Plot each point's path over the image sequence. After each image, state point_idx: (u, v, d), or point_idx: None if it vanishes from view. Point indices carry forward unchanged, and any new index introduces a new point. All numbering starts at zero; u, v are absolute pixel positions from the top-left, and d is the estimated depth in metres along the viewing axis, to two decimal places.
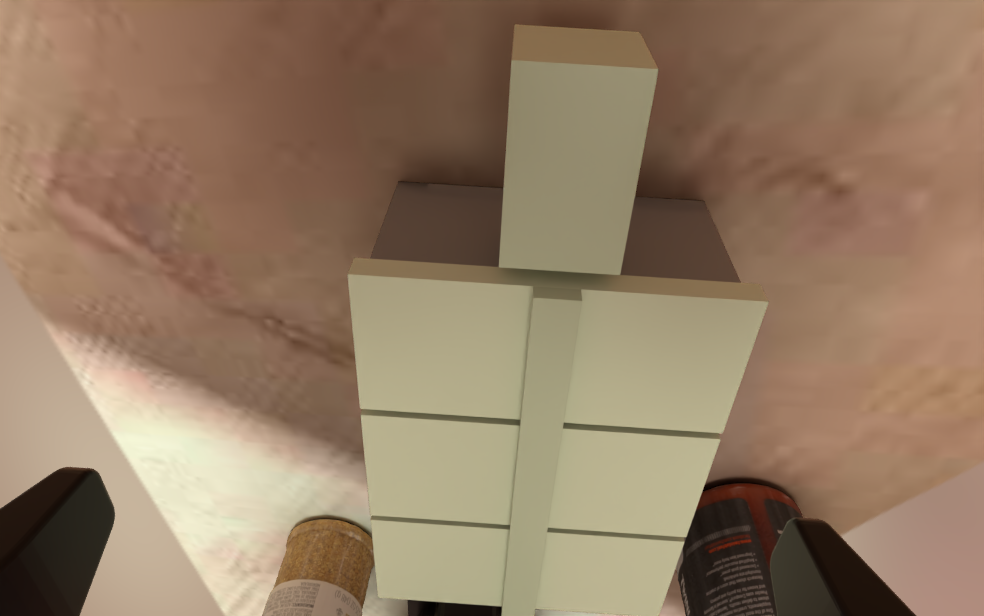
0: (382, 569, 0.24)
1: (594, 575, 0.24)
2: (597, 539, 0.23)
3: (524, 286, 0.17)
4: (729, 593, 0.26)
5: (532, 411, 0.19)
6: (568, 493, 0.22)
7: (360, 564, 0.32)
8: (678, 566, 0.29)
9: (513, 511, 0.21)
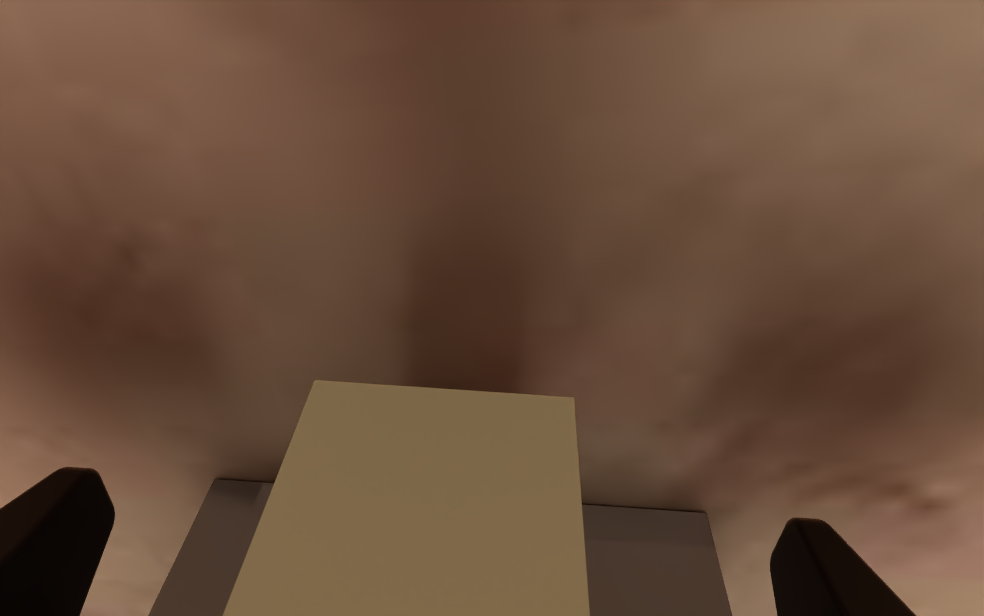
0: None
1: None
2: None
3: None
4: None
5: None
6: None
7: None
8: None
9: None
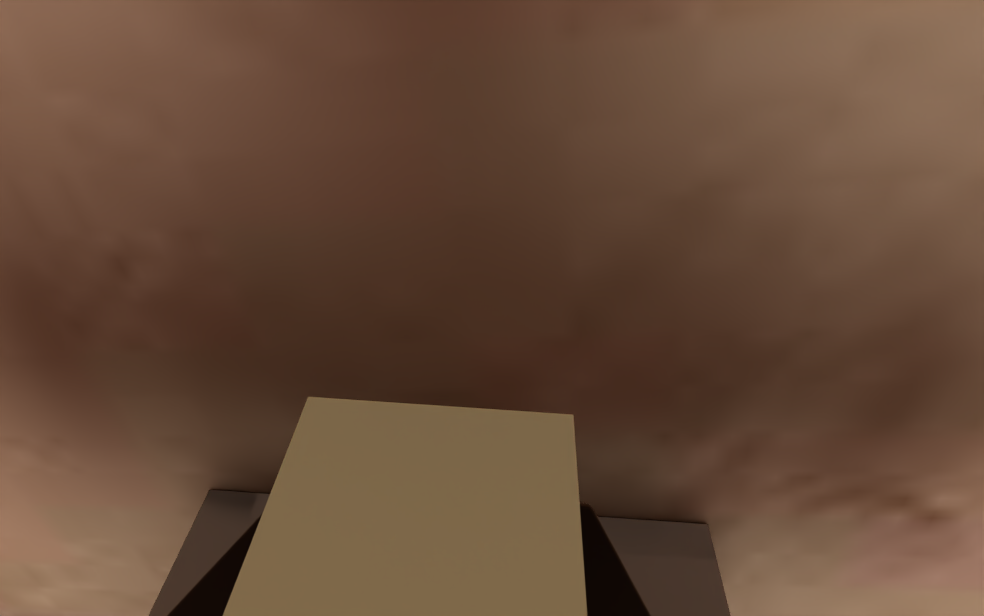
0: None
1: None
2: None
3: None
4: None
5: None
6: None
7: None
8: None
9: None
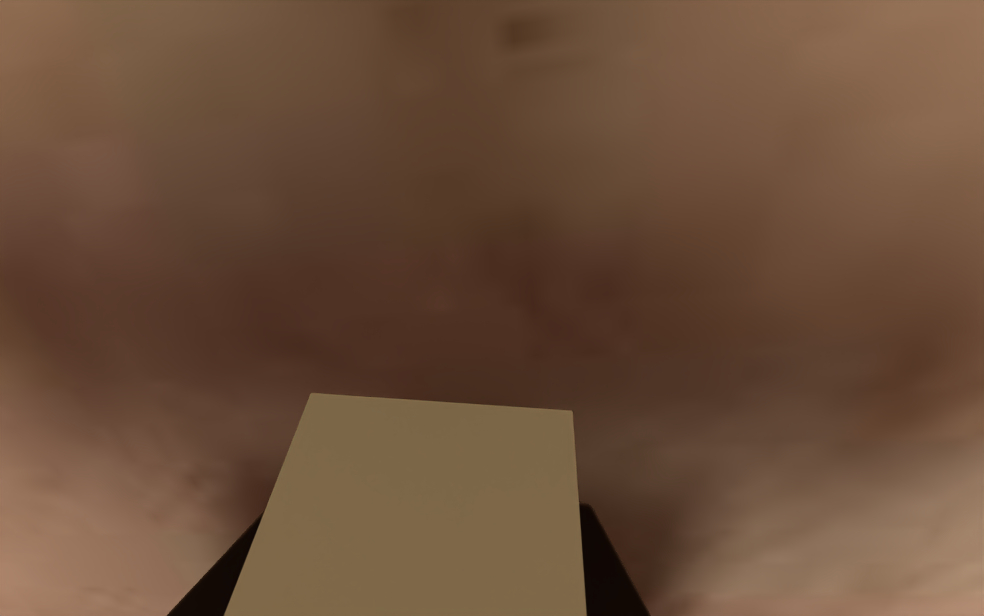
0: None
1: None
2: None
3: None
4: None
5: None
6: None
7: None
8: None
9: None
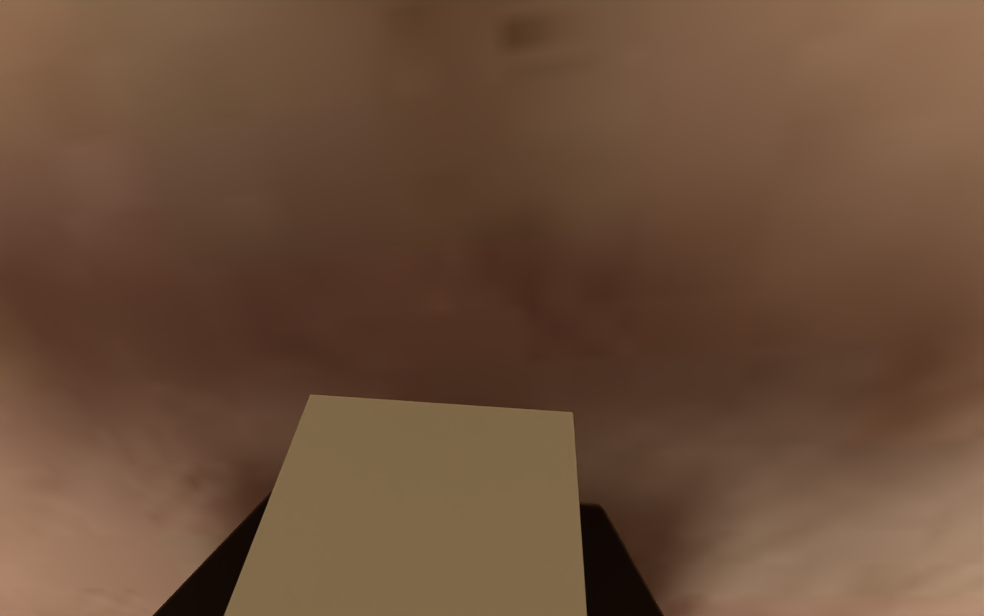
0: None
1: None
2: None
3: None
4: None
5: None
6: None
7: None
8: None
9: None
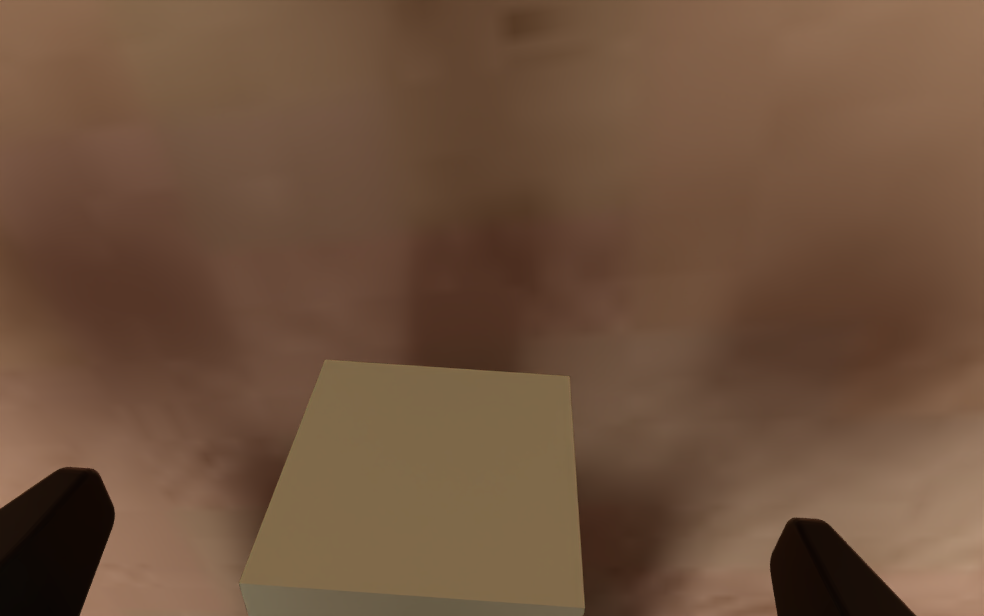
0: None
1: None
2: None
3: None
4: None
5: None
6: None
7: None
8: None
9: None
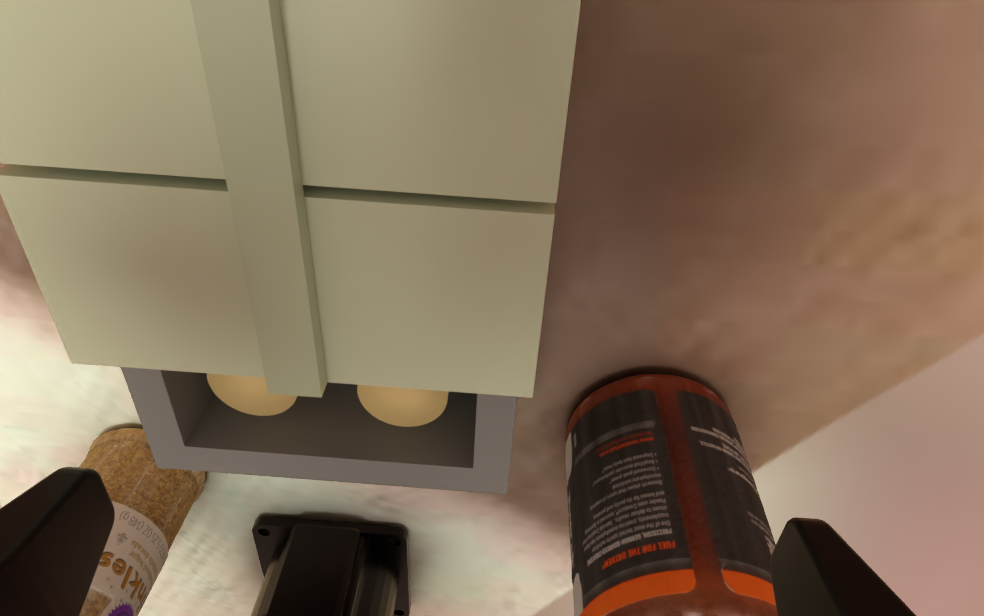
0: (55, 298, 0.14)
1: (410, 304, 0.14)
2: (400, 214, 0.13)
3: None
4: (617, 504, 0.19)
5: None
6: (323, 89, 0.11)
7: (170, 483, 0.25)
8: (567, 481, 0.22)
9: (216, 118, 0.11)
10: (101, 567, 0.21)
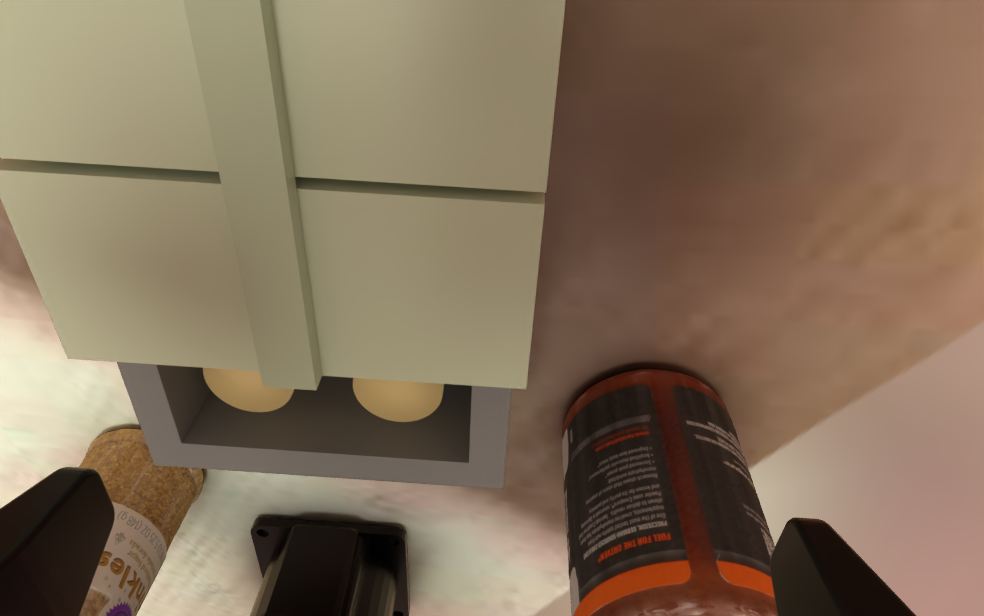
0: (51, 293, 0.15)
1: (403, 296, 0.14)
2: (392, 205, 0.13)
3: None
4: (613, 497, 0.19)
5: None
6: (314, 80, 0.12)
7: (168, 483, 0.25)
8: (564, 477, 0.22)
9: (208, 110, 0.11)
10: (99, 567, 0.21)
